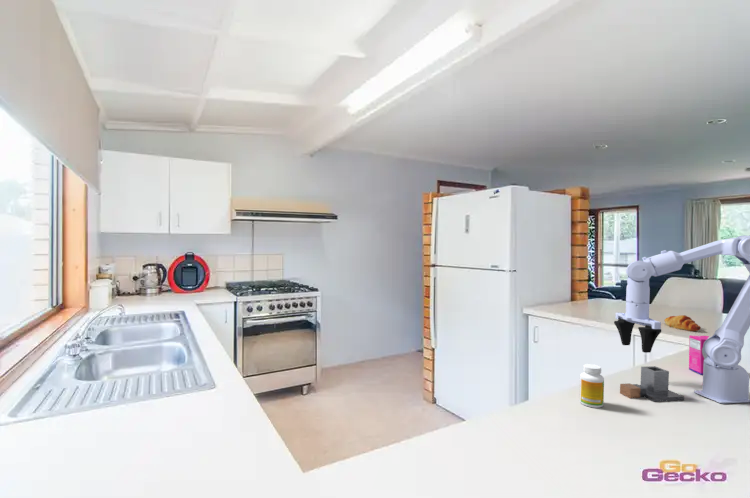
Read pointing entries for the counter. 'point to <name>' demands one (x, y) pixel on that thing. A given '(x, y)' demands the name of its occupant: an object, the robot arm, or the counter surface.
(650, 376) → the hollow square tube
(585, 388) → the supplement bottle
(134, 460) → the counter surface
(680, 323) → the croissant
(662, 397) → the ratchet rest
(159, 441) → the counter surface
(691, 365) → the supplement box
